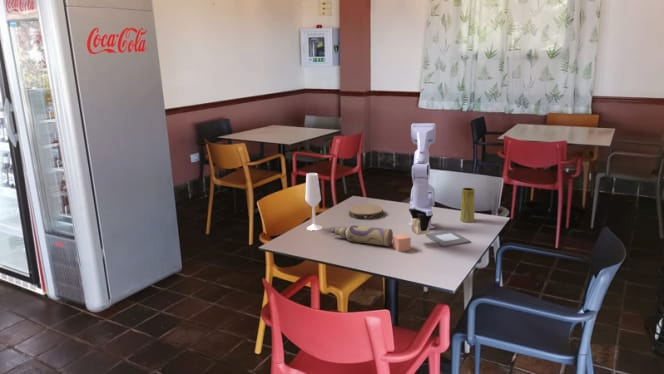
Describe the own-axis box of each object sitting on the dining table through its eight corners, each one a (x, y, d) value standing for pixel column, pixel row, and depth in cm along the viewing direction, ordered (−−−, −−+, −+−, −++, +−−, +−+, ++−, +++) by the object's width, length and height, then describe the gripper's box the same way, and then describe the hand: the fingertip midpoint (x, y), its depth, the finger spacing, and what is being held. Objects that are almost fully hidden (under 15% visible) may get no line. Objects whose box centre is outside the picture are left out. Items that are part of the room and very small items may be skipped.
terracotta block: (392, 247, 195) (392, 235, 194) (404, 245, 196) (404, 233, 195) (398, 251, 190) (398, 239, 189) (410, 250, 192) (410, 237, 191)
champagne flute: (323, 225, 223) (320, 172, 218) (321, 230, 217) (318, 175, 211) (307, 225, 224) (305, 172, 218) (305, 230, 218) (302, 176, 212)
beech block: (411, 231, 198) (411, 218, 197) (423, 229, 200) (423, 217, 199) (417, 235, 194) (417, 222, 193) (429, 233, 195) (429, 220, 194)
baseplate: (425, 235, 206) (425, 233, 206) (451, 231, 210) (451, 229, 210) (443, 247, 193) (443, 245, 193) (470, 242, 197) (470, 240, 197)
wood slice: (388, 212, 239) (388, 206, 239) (373, 222, 226) (373, 215, 226) (359, 208, 248) (359, 202, 247) (342, 217, 235) (342, 211, 234)
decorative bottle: (394, 242, 200) (394, 226, 198) (387, 249, 194) (387, 232, 192) (336, 234, 212) (335, 219, 210) (327, 240, 206) (327, 224, 204)
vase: (464, 223, 219) (465, 191, 216) (457, 219, 225) (458, 188, 222) (477, 221, 221) (478, 189, 217) (469, 217, 227) (470, 186, 223)
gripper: (402, 191, 199) (402, 224, 202) (420, 200, 185) (420, 235, 189) (418, 189, 201) (418, 221, 204) (437, 198, 187) (436, 233, 191)
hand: (420, 228), depth 196 cm, fingers closed on beech block, 5 cm apart
